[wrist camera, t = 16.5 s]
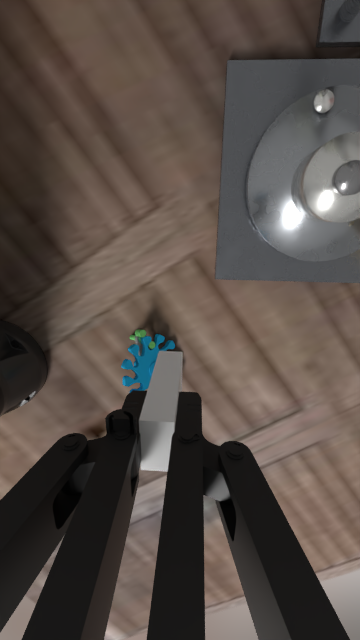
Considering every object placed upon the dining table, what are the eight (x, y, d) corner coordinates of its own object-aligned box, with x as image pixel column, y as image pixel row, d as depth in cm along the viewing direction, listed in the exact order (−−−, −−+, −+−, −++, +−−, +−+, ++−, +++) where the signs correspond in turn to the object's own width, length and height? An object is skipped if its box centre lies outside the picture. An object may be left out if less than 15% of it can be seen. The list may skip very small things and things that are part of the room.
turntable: (346, 308, 40) (369, 323, 34) (215, 199, 36) (218, 197, 31) (465, 193, 34) (515, 190, 29) (324, 50, 30) (352, 15, 25)
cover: (305, 234, 35) (325, 237, 29) (280, 169, 33) (295, 159, 27) (374, 200, 33) (408, 196, 27) (351, 129, 31) (384, 109, 25)
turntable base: (214, 277, 41) (215, 279, 40) (226, 65, 33) (227, 59, 31) (391, 281, 40) (398, 284, 38) (450, 62, 31) (462, 56, 30)
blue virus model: (190, 386, 45) (136, 417, 39) (168, 379, 50) (116, 406, 44) (174, 318, 43) (115, 340, 37) (153, 318, 48) (97, 338, 42)
